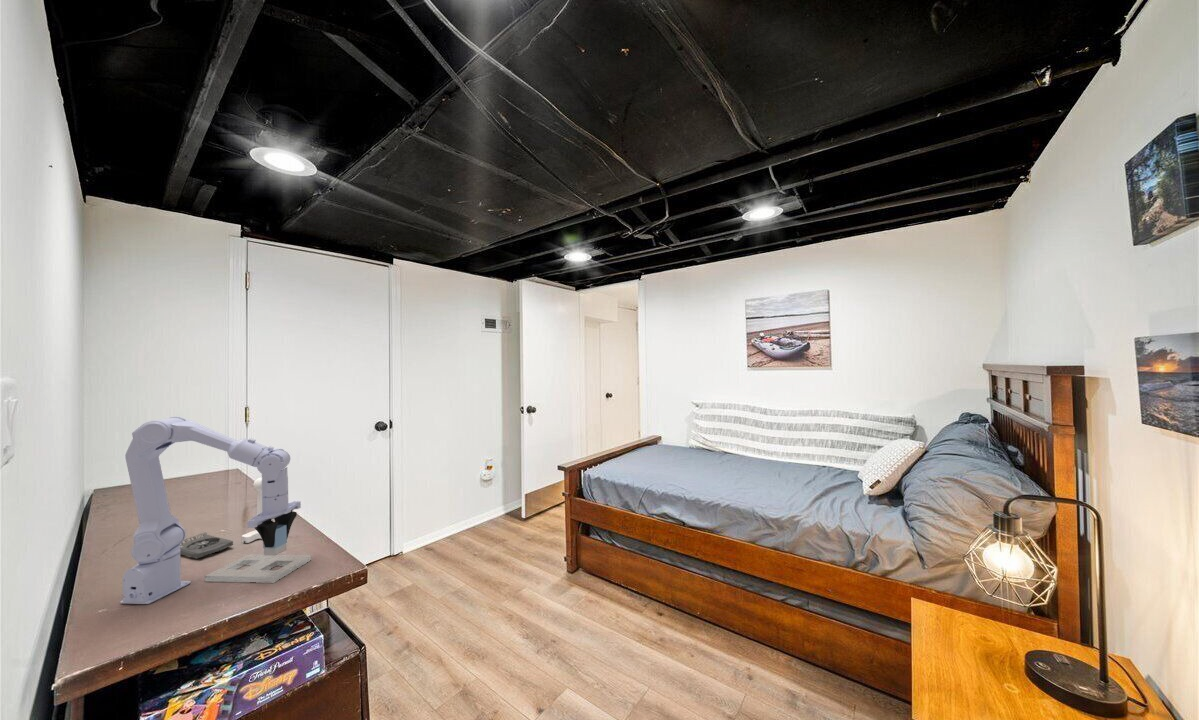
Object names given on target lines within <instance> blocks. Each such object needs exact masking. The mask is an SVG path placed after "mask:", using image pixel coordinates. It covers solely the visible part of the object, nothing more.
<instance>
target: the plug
mask: <svg viewBox="0 0 1199 720" xmlns="http://www.w3.org/2000/svg"><path fill="white" fill-rule="evenodd" d="M287 542H288V538H287V525H277V528H276V532H275V543H274V546H273V547H265V545H264V543H263V542H262V547H263V554H264V555H268V556H276V555H280V554H281V553H284V552H285V551H287V544H288V543H287Z"/></svg>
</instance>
